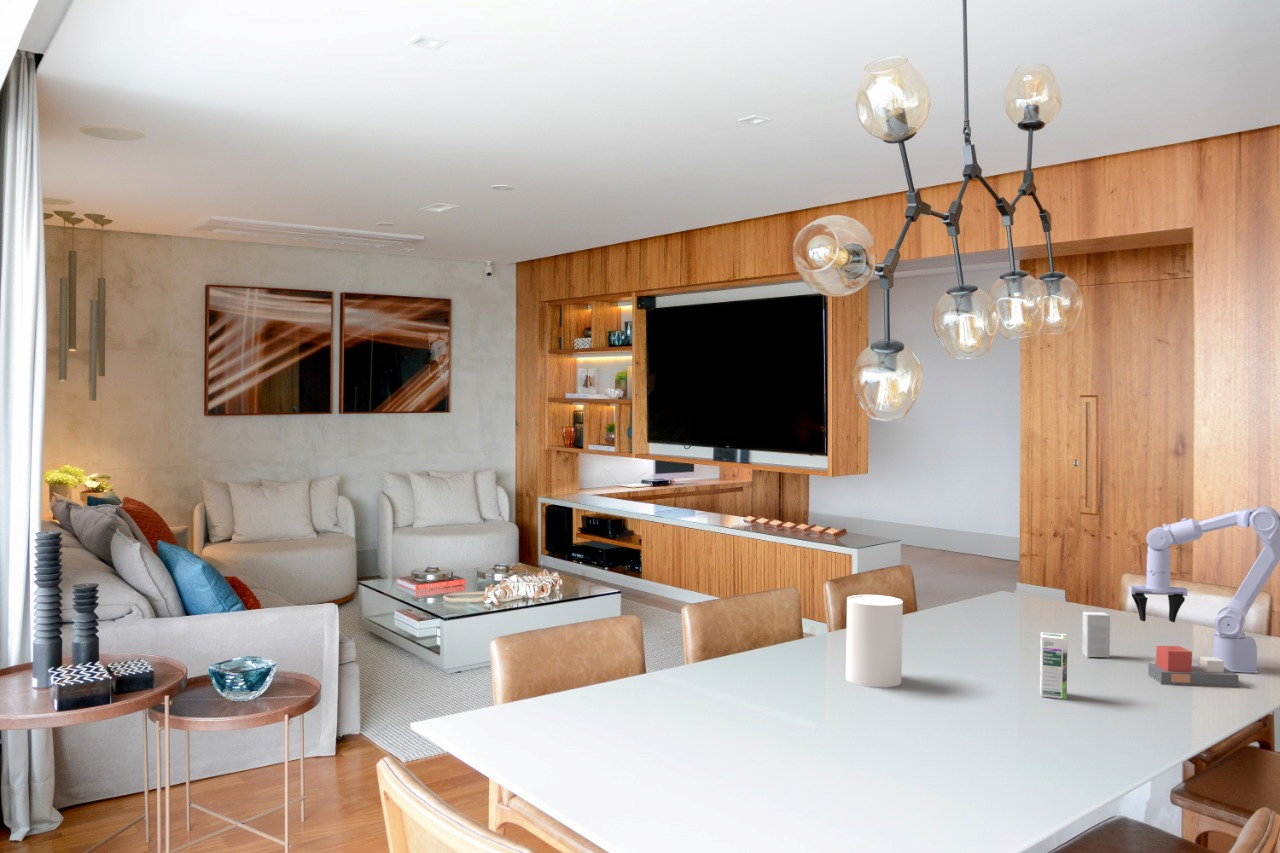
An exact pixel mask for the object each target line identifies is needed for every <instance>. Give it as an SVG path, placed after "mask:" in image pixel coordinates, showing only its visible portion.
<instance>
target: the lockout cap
mask: <svg viewBox="0 0 1280 853" xmlns="http://www.w3.org/2000/svg"><path fill="white" fill-rule="evenodd" d="M1155 654H1156V655H1155V657H1156V658H1155V659H1156V660H1155V662H1156V663H1155V664H1156V665H1157V666H1159V667H1161V668H1163V669H1164V670H1166V671H1175V672H1192V665H1193V651H1191V650H1189V649H1186V648H1184V647H1182V646H1180V645H1156V651H1155Z"/></svg>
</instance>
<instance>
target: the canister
mask: <svg viewBox="0 0 1280 853" xmlns="http://www.w3.org/2000/svg"><path fill="white" fill-rule="evenodd" d="M903 602H904V601H903V600H902V599H901V598H897V597H893V596H889V595H883V594H881V595H880V594H857V595H856V594H855V595H850V596H847V597H846V633H845V634H846V635H845V636H846V639H845V643H846V645H845V647H846V648H845V651H846V652H845V656H846V657H845V679H846V681H848V682H850V683H851V684H854V685H857V686H858V685H859V686H863V687H869V688H892V687H897V686H899V685H901V684H902V675H903V674H902V671H903V670H902V669H903V668H902V667H903V666H902V664H903V663H902V662H903V661H902V660H903V659H902V658H903V617H904V616H903V608H904V606H903V605H904V603H903Z"/></svg>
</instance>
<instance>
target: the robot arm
mask: <svg viewBox="0 0 1280 853" xmlns="http://www.w3.org/2000/svg"><path fill="white" fill-rule="evenodd" d="M1234 526H1238V527H1240V528H1245V529H1248V528H1249V527H1251V528H1252V530H1253V531H1254V532H1255V533H1256V534H1257V535H1258V536H1259V538H1260V540H1261V543H1262V545H1263V548H1262V550H1261V551H1260V553H1259V555H1258V556H1257V558H1256V560H1255V561H1254V563H1253V565H1252V566H1251V568H1250V570H1249V571H1248V573H1247V574H1246V576H1245V577H1244V579H1243V581H1242V582H1241V584H1240V585H1239V587H1238V589H1237V590H1236V592H1235V594H1234V595H1233V597H1232V598H1231V600H1230V601H1229V603H1228V604H1227V605H1226V606H1225V607H1223V608H1222V609H1220V610H1219V611H1218V613H1217V615H1216V617H1215V619H1214V627H1215V630H1214V631H1213V645H1212V646H1213V648H1212V649H1213V651H1212V652H1213V653H1212V657H1217V658H1219V659H1221V660H1223V661H1224V667H1225V668H1226V669H1228V670H1230V671H1232V672H1234V673H1249V674H1252V673H1253V674H1258V673H1259V671H1258V670H1257V667H1258V666H1257V664H1258V663H1257V662H1258V645H1257V641H1256V640H1255V638H1254V637H1253V636H1250V635H1246V633H1244V632H1243V628H1244V625H1245V621H1246V619H1245V618H1246V616H1247V614H1248V613H1249V611H1250V609H1251V608H1252V605H1253V604H1254V603H1255V601H1256V599H1257V598H1258V596H1259V594H1260V593H1261V591H1262V589H1263V588H1264V587H1265V584H1266V583H1267V582H1268V580H1269V579H1270V576H1271V575H1272V574H1273V572H1274V570H1275V569H1276V567H1277V565H1278V564H1279V562H1280V514H1279V513H1278V511H1277V510H1276V509H1274V508H1273V507H1272V506H1268V505H1261V506H1258V507H1256V508H1255V507H1252V508H1251V507H1249V508H1243V509H1238V510H1234V511H1231V512H1228V513H1224V514H1221V515H1218V516H1214V517H1211V518H1207V519H1204V520H1201V521H1198V520H1196V519H1194V518H1189V519H1188V518H1187V517H1184V518H1181V521H1177V522H1173V523H1169V524H1168V523H1163V524H1162V526H1159V527H1158V526H1156V527H1154V528H1152V529H1151V530H1149V532H1147V534H1146V537H1145V540H1146V543H1147V550H1146V551H1147V553H1146V579H1145V580H1146V583H1145V584H1146V585H1129V586H1128V593H1129V594H1130V595H1131V597H1132V599H1133V602H1134V603H1135V606H1136V608H1137V612H1138V616H1139V620H1140V621H1141V622H1146V618H1147V614H1146V613H1147V612H1146V611H1147V610H1146V609H1147V603H1148V597H1147V596H1146V595H1156V596H1158V595H1161V596H1166V595H1167V598H1168V599H1167V600H1168V608H1169V609H1168V621H1170V622H1171V623H1175V622H1176V619H1177V617H1178V616H1177V615H1178V613H1179V610H1180V609H1181V607H1182V605H1183V604H1184V602H1185V599H1186V597H1187V596H1188V591H1189V590H1188V588H1186V587H1179V586H1178V587H1177V586H1171V561H1172V560H1171V558H1172V556H1171V545H1173V546H1177V545H1182V544H1186V543H1189V542H1194V541H1197V540H1200V539H1201V538H1202V536H1203V534H1204V533H1210V532H1212V531H1218V530H1222V529H1225V528H1230V527H1234Z"/></svg>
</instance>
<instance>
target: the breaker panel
mask: <svg viewBox="0 0 1280 853" xmlns="http://www.w3.org/2000/svg"><path fill="white" fill-rule="evenodd" d="M1147 667H1148V671H1147V672H1148V674H1147V675H1148V676H1149V675H1150V676H1151V677H1150V676H1149V677H1150V678H1152V677H1153V678H1154V679H1153V678H1152V679H1153V680H1155V679H1156V680H1157V681H1156V680H1155V681H1156V682H1158V681H1159V682H1160V683H1162V684H1161V685H1173V684H1179V685H1178V686H1198V687H1199V686H1201V687H1225V688H1239V674H1237V672H1232V671H1230V670H1228V669H1226V668H1225V667H1224V673H1216V672H1205V671H1203V670H1202V669H1200V665H1196V664H1195V665H1193V664H1192V672H1175V671H1166V670H1164V669H1163V668H1161V667H1159V666H1157V665H1156V663H1148V666H1147ZM1159 682H1158V683H1159ZM1160 683H1159V684H1160Z"/></svg>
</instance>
